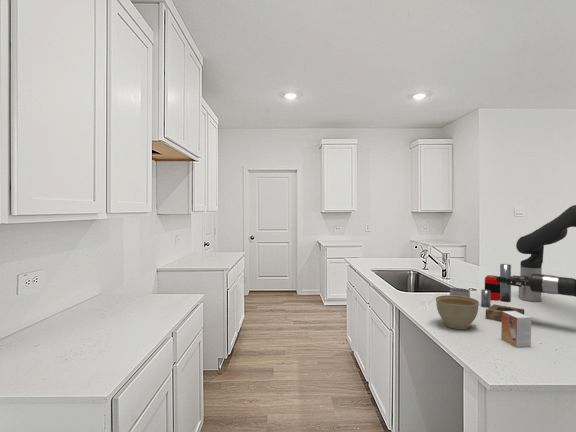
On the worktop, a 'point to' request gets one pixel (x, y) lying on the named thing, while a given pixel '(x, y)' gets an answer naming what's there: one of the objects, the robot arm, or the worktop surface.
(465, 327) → the planter bowl
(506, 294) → the long steel pin
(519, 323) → the small box
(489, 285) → the soda can
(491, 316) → the walnut bored block
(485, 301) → the short steel pin
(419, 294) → the worktop surface
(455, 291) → the cup
